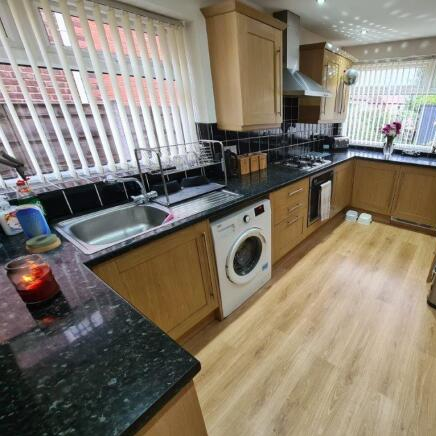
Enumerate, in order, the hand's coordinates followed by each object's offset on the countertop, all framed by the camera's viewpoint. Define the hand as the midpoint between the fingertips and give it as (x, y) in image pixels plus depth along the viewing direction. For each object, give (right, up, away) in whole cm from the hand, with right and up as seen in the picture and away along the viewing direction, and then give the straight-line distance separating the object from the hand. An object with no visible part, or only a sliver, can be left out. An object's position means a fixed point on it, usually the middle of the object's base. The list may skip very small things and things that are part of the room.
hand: (5, 182), depth 111 cm
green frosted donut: (+19, -29, -1) cm, 35 cm away
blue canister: (+9, -26, +7) cm, 28 cm away
